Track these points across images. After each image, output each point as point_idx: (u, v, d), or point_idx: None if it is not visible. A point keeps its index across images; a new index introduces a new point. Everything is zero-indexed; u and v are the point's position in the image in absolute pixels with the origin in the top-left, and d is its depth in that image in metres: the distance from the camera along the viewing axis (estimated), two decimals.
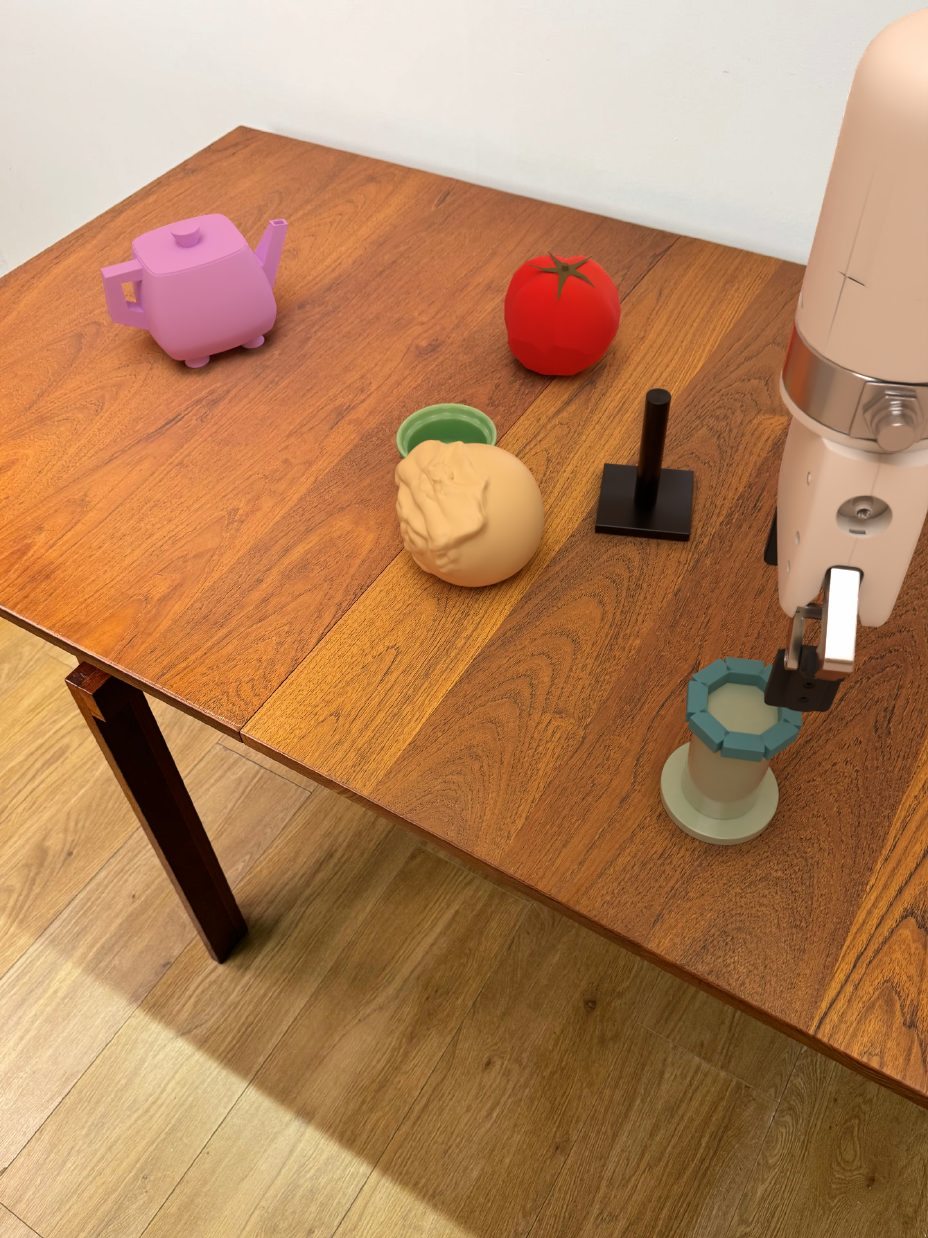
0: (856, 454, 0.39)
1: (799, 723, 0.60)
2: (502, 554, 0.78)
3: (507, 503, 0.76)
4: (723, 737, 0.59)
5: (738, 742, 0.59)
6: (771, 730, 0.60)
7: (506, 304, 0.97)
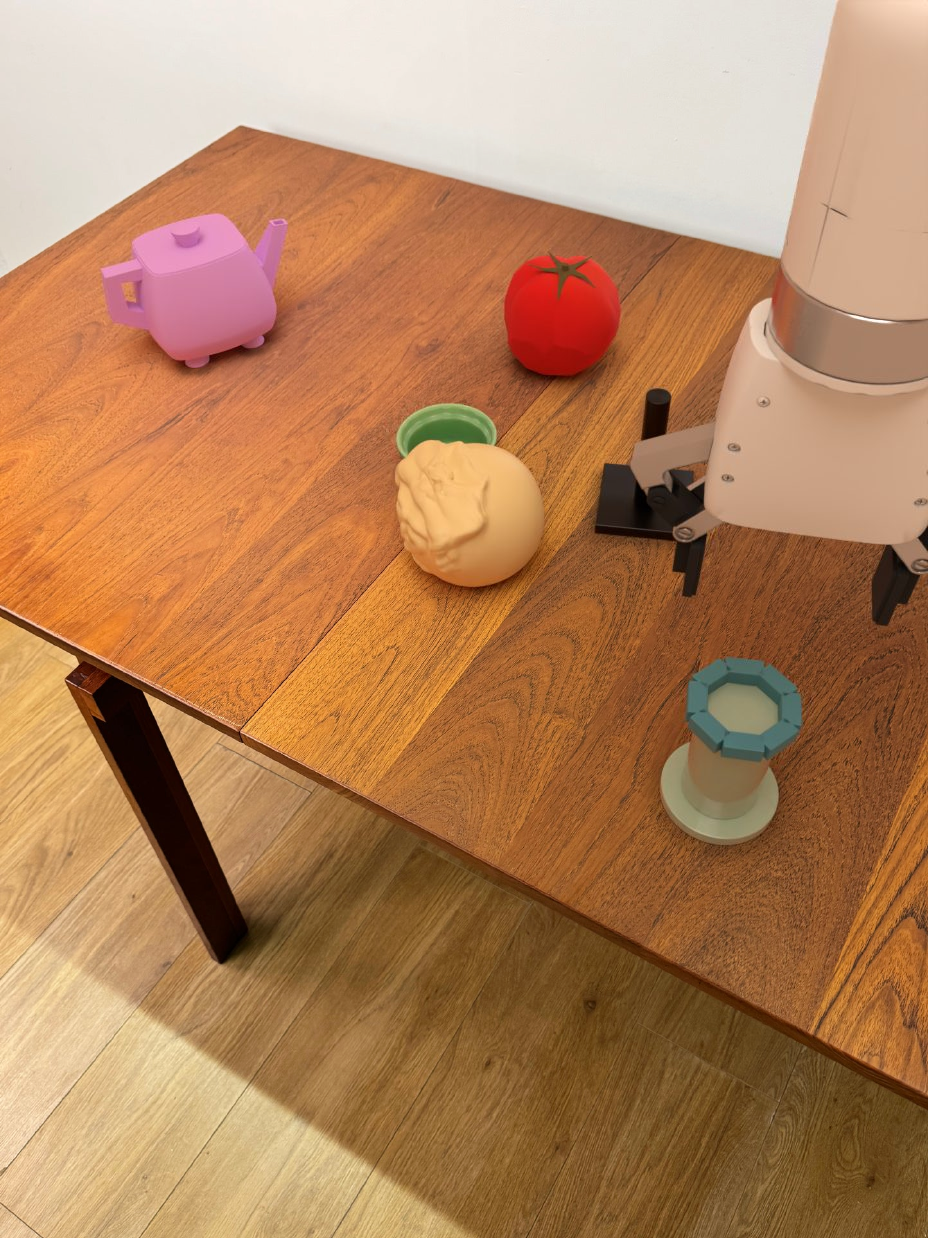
0: None
1: (799, 723, 0.60)
2: (502, 554, 0.78)
3: (507, 503, 0.76)
4: (723, 737, 0.59)
5: (738, 742, 0.59)
6: (771, 730, 0.60)
7: (506, 304, 0.97)
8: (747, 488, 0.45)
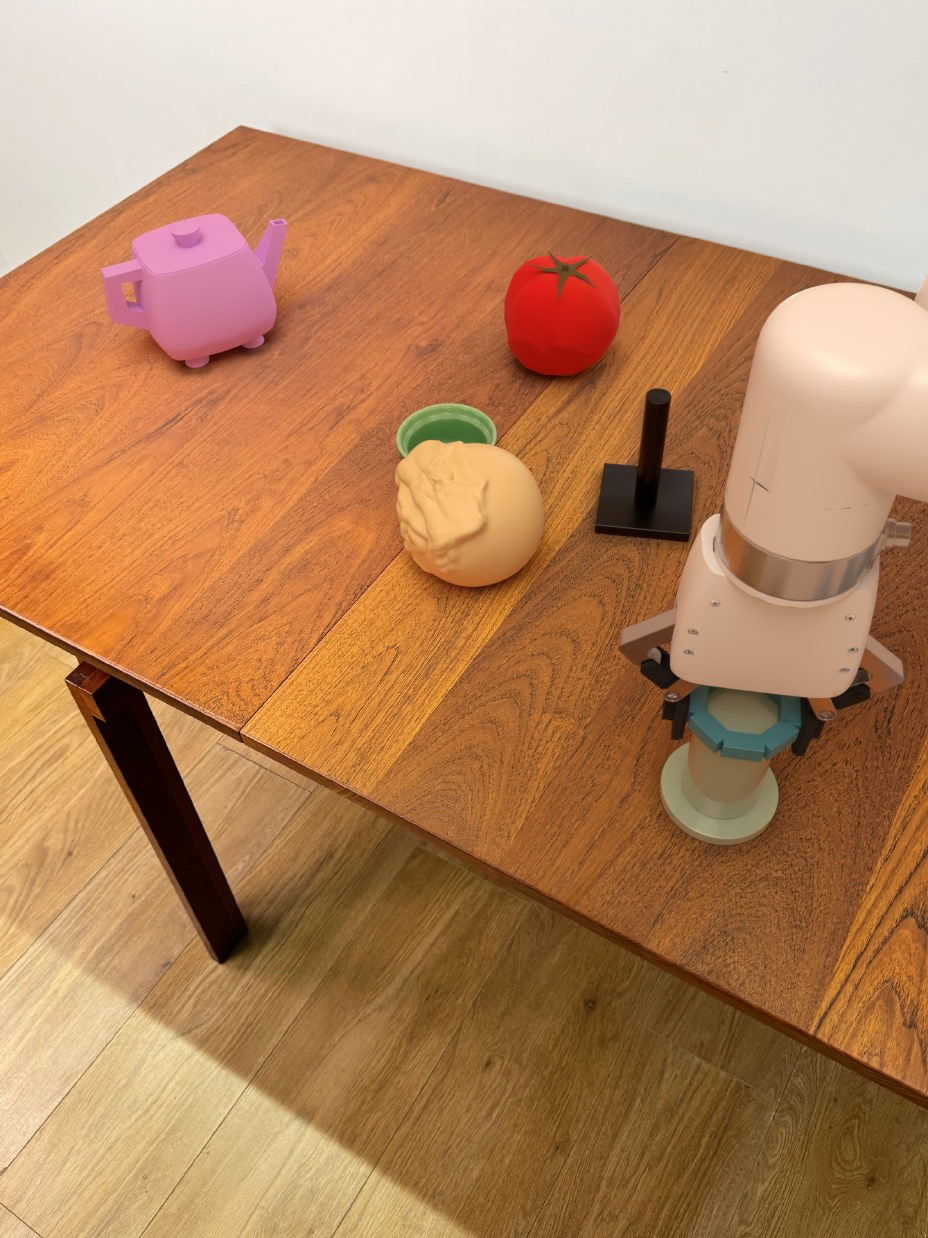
0: (872, 572, 0.49)
1: (799, 723, 0.60)
2: (502, 554, 0.78)
3: (507, 503, 0.76)
4: (723, 737, 0.59)
5: (738, 742, 0.59)
6: (771, 730, 0.60)
7: (506, 304, 0.97)
8: (705, 660, 0.55)
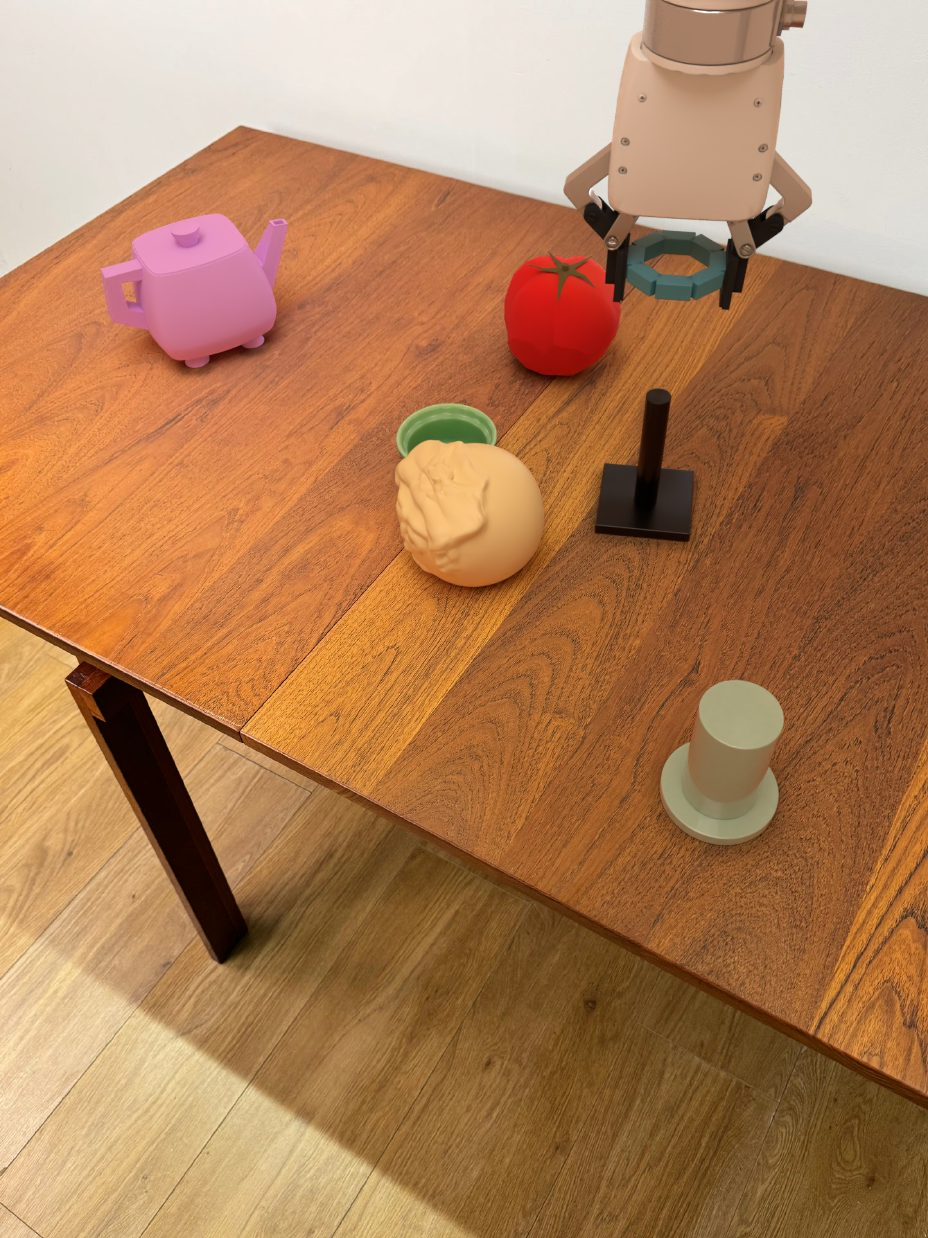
0: (776, 56, 0.57)
1: (724, 268, 0.68)
2: (502, 554, 0.78)
3: (507, 503, 0.76)
4: (656, 277, 0.67)
5: (669, 280, 0.67)
6: (699, 272, 0.67)
7: (506, 304, 0.97)
8: (637, 177, 0.63)
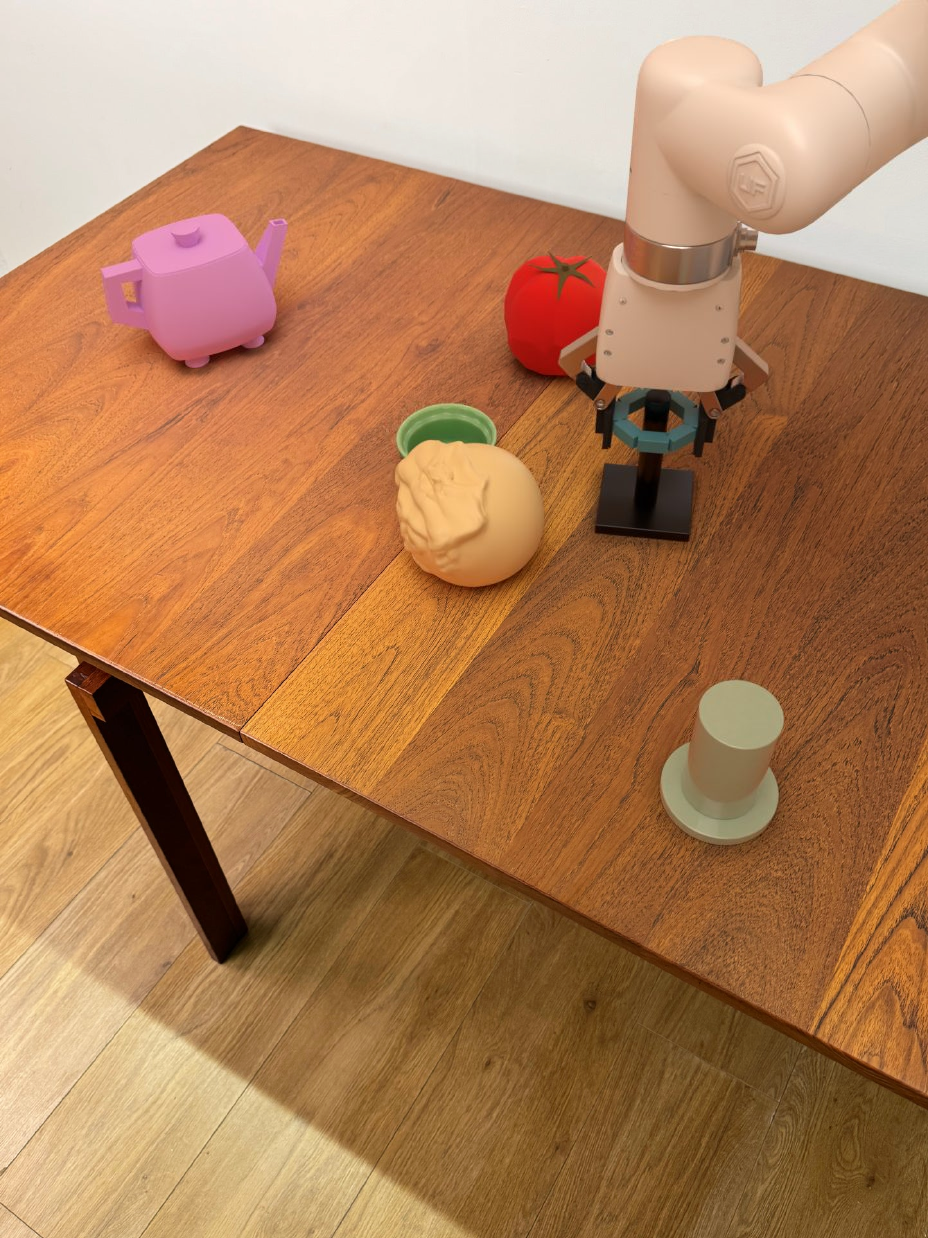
0: (734, 271, 0.69)
1: (696, 425, 0.79)
2: (502, 554, 0.78)
3: (507, 503, 0.76)
4: (638, 434, 0.79)
5: (649, 437, 0.78)
6: (675, 429, 0.79)
7: (506, 304, 0.97)
8: (619, 358, 0.74)
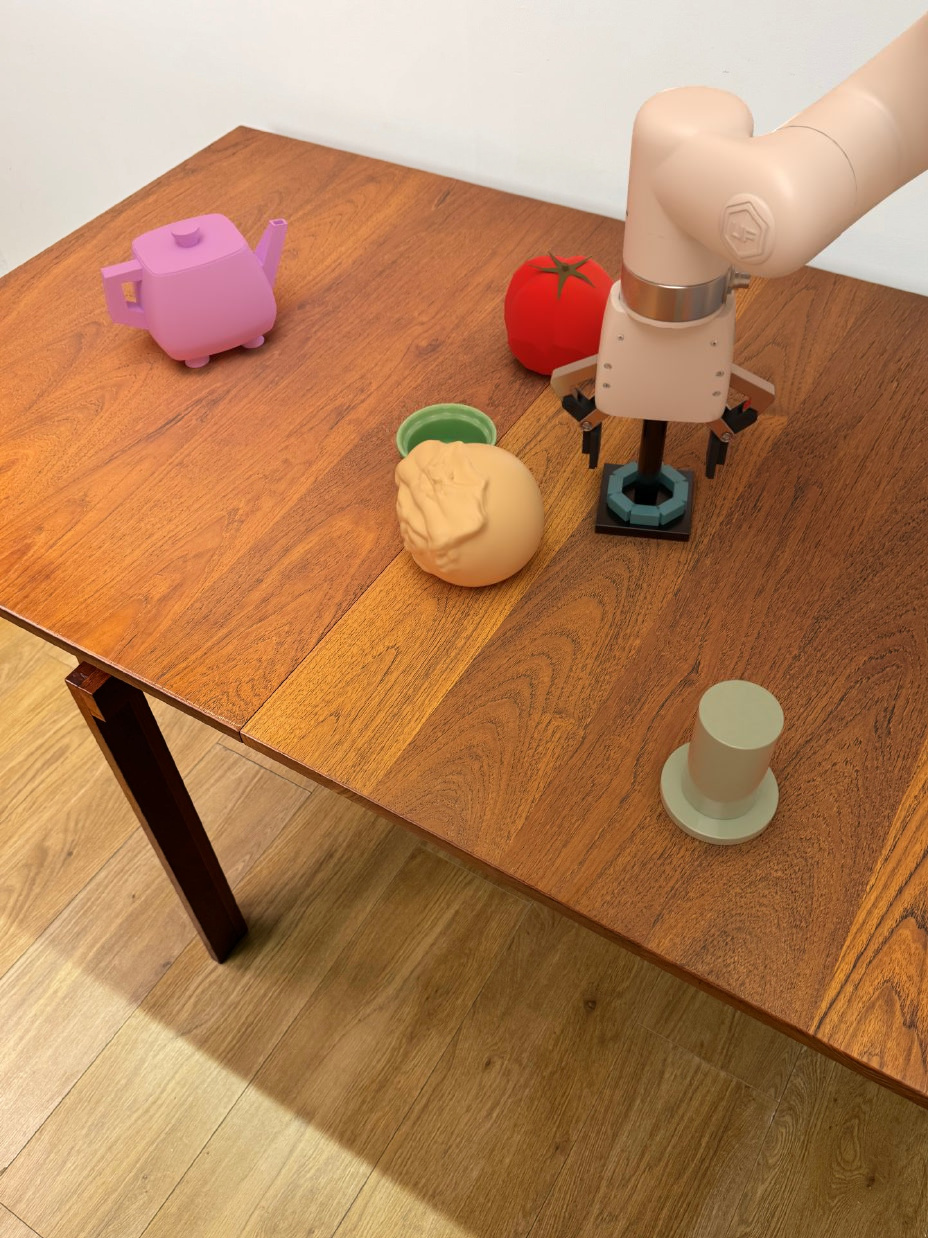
0: (728, 308, 0.71)
1: (685, 499, 0.85)
2: (502, 554, 0.78)
3: (507, 503, 0.76)
4: (631, 508, 0.85)
5: (641, 510, 0.84)
6: (665, 503, 0.85)
7: (506, 304, 0.97)
8: (618, 391, 0.76)
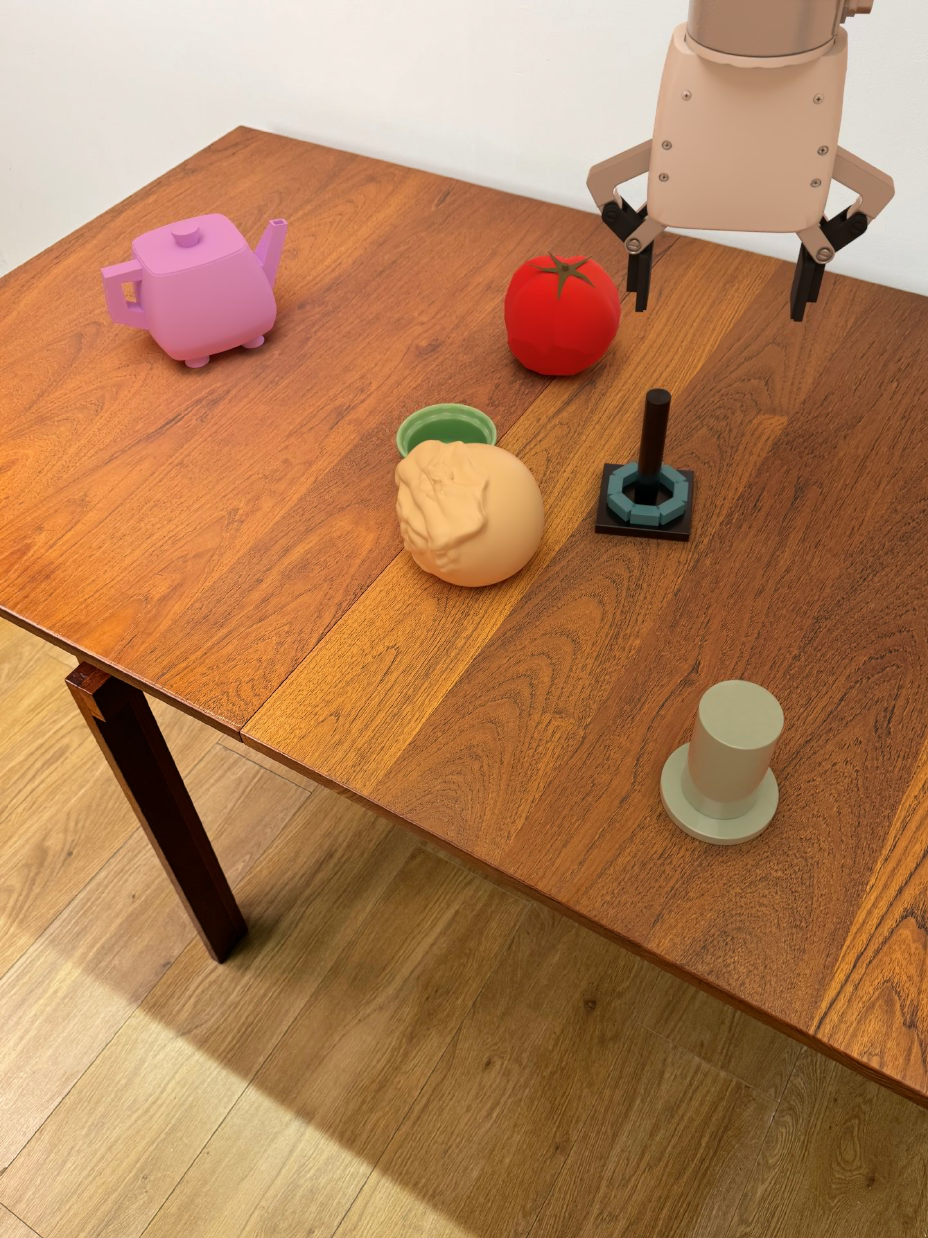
0: (839, 46, 0.51)
1: (685, 499, 0.85)
2: (502, 554, 0.78)
3: (507, 503, 0.76)
4: (631, 508, 0.85)
5: (641, 510, 0.84)
6: (665, 503, 0.85)
7: (506, 304, 0.97)
8: (679, 185, 0.56)
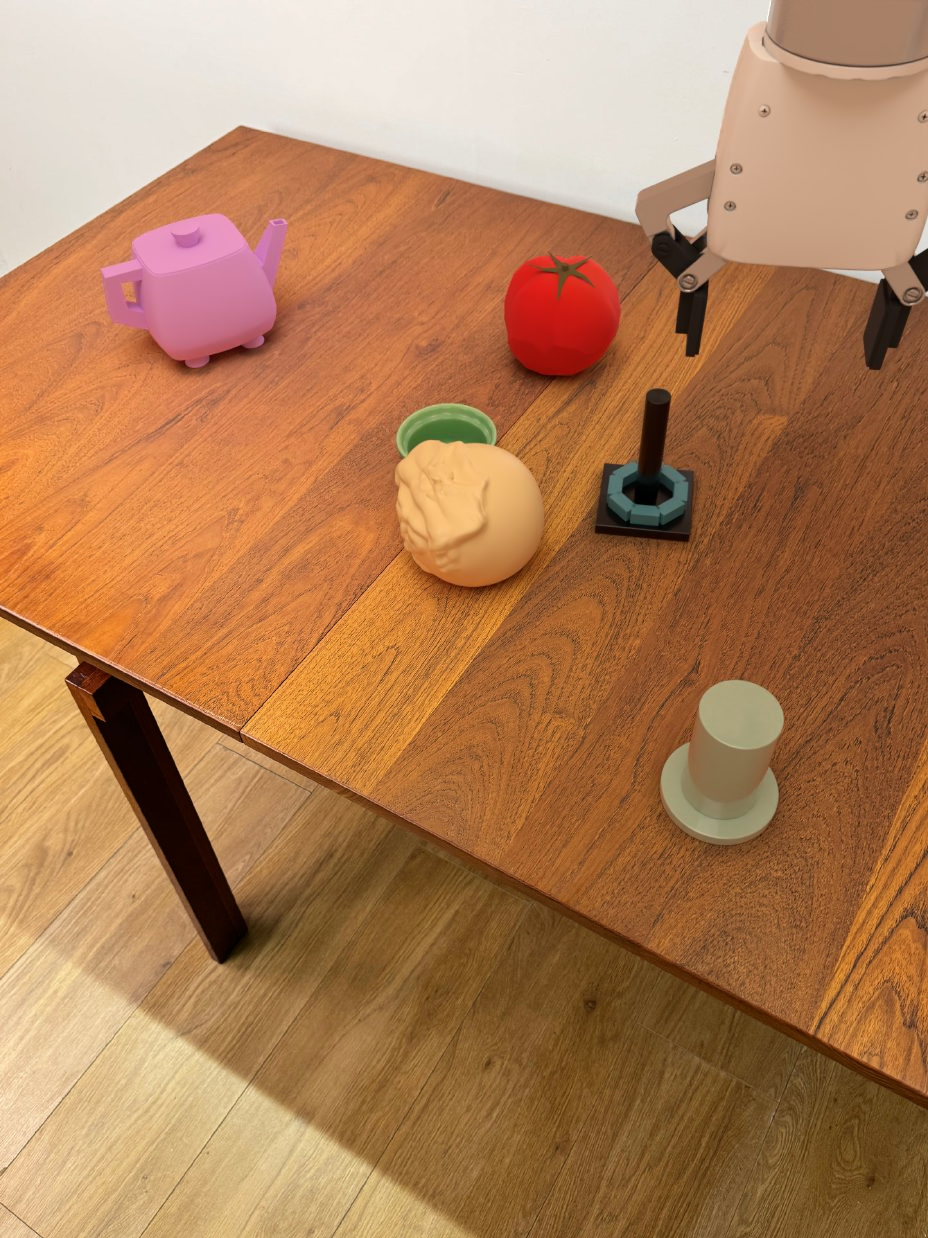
0: None
1: (685, 499, 0.85)
2: (502, 554, 0.78)
3: (507, 503, 0.76)
4: (631, 508, 0.85)
5: (641, 510, 0.84)
6: (665, 503, 0.85)
7: (506, 304, 0.97)
8: (749, 215, 0.48)
